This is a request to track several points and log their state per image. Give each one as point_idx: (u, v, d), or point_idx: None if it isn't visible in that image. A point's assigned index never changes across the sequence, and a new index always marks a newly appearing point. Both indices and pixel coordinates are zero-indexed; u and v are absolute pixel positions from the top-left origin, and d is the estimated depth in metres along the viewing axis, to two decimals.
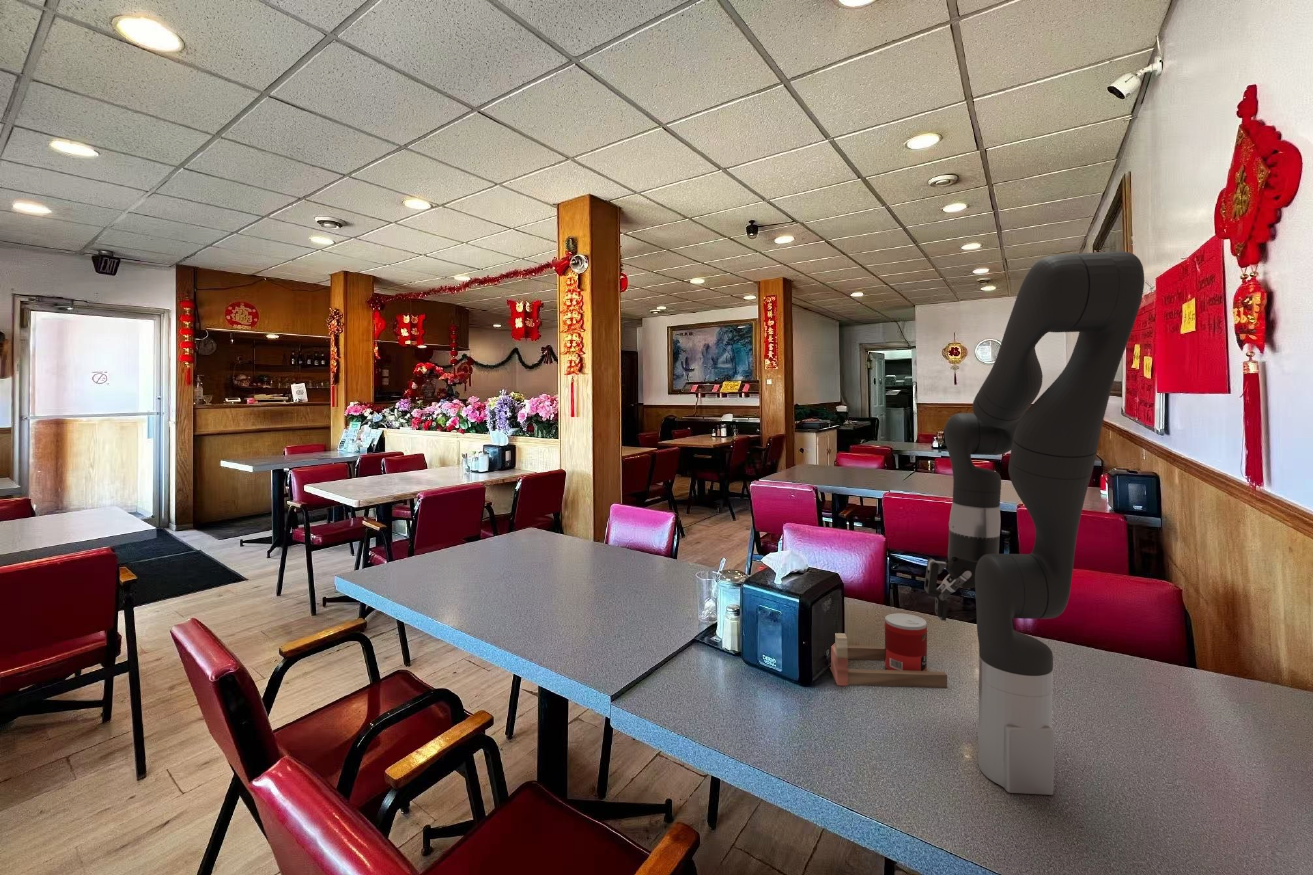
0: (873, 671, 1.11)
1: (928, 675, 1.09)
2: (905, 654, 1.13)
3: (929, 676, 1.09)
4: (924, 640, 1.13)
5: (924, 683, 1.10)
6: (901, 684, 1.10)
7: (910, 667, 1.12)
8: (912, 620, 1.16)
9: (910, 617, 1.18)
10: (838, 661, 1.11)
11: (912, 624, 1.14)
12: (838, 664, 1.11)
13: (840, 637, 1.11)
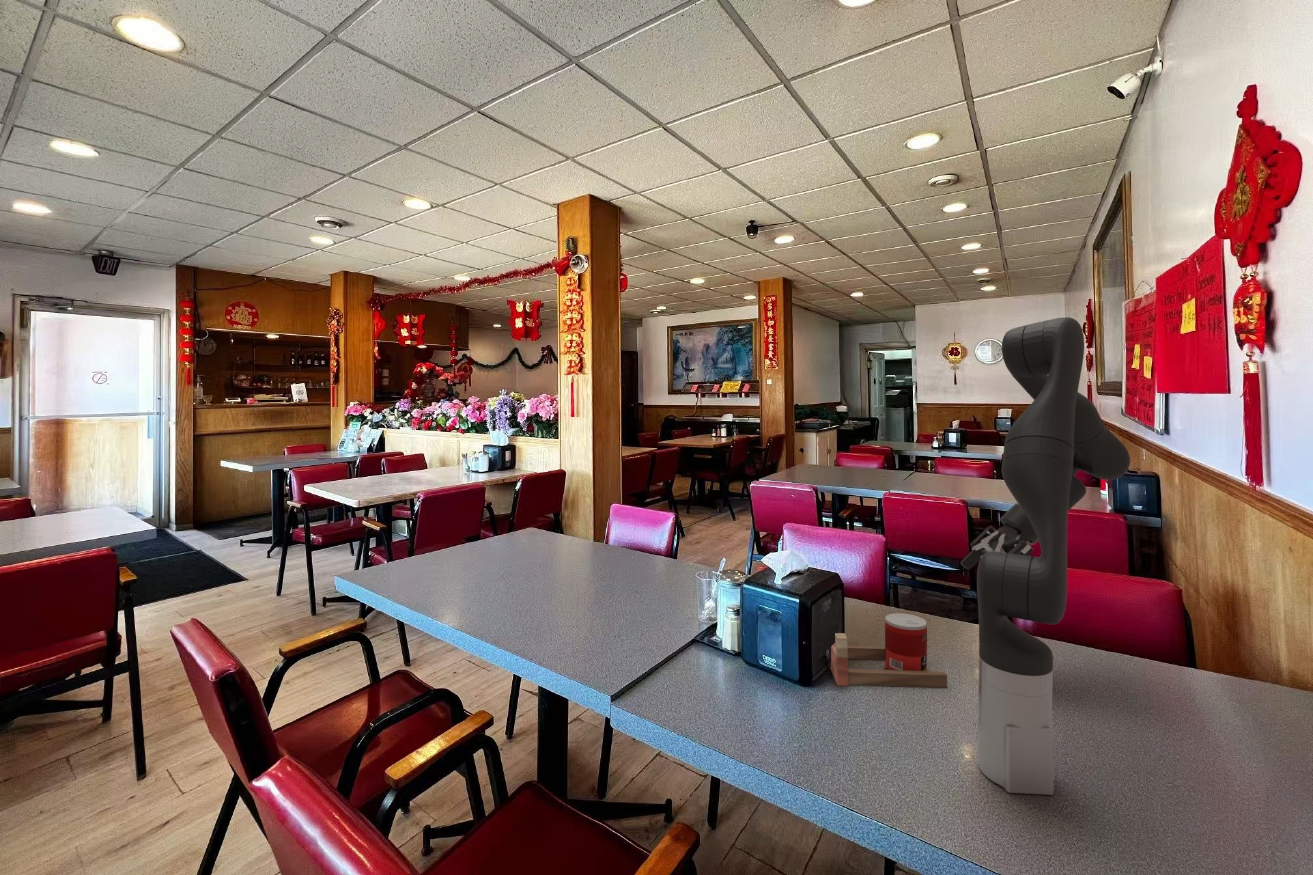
0: (873, 671, 1.11)
1: (928, 675, 1.09)
2: (905, 654, 1.13)
3: (929, 676, 1.09)
4: (924, 640, 1.13)
5: (924, 683, 1.10)
6: (901, 684, 1.10)
7: (910, 667, 1.12)
8: (912, 620, 1.16)
9: (910, 617, 1.18)
10: (838, 661, 1.11)
11: (912, 624, 1.14)
12: (838, 664, 1.11)
13: (840, 637, 1.11)
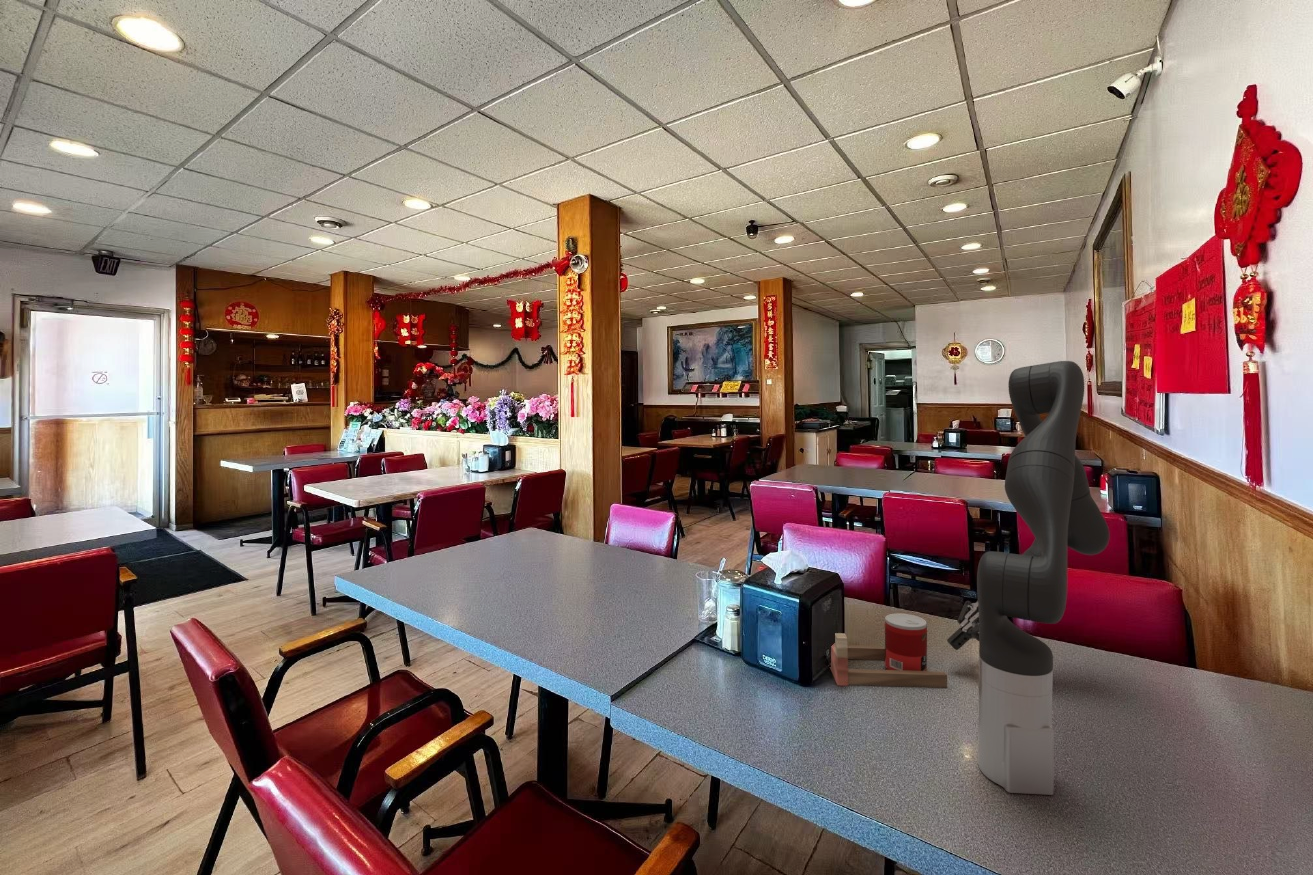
0: (873, 671, 1.11)
1: (928, 675, 1.09)
2: (905, 654, 1.13)
3: (929, 676, 1.09)
4: (924, 640, 1.13)
5: (924, 683, 1.10)
6: (901, 684, 1.10)
7: (910, 667, 1.12)
8: (912, 620, 1.16)
9: (910, 617, 1.18)
10: (838, 661, 1.11)
11: (912, 624, 1.14)
12: (838, 664, 1.11)
13: (840, 637, 1.11)
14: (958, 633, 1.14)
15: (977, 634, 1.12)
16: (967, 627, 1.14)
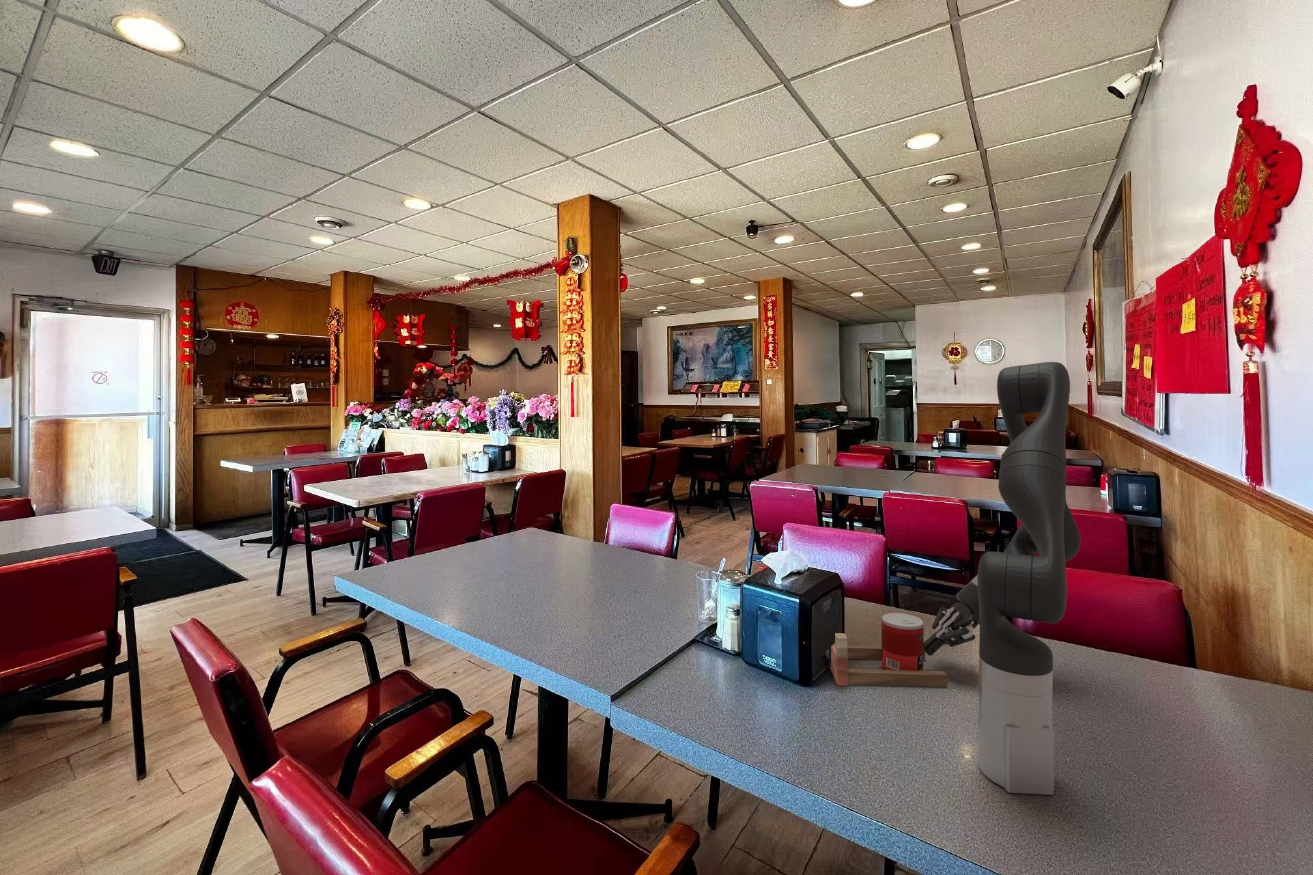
0: (873, 671, 1.11)
1: (928, 675, 1.09)
2: (902, 653, 1.13)
3: (929, 676, 1.09)
4: (921, 639, 1.13)
5: (924, 683, 1.10)
6: (901, 684, 1.10)
7: (906, 667, 1.13)
8: (909, 620, 1.16)
9: (907, 617, 1.18)
10: (838, 661, 1.11)
11: (909, 624, 1.14)
12: (838, 664, 1.11)
13: (840, 637, 1.11)
14: (931, 639, 1.15)
15: (950, 640, 1.12)
16: (940, 633, 1.14)
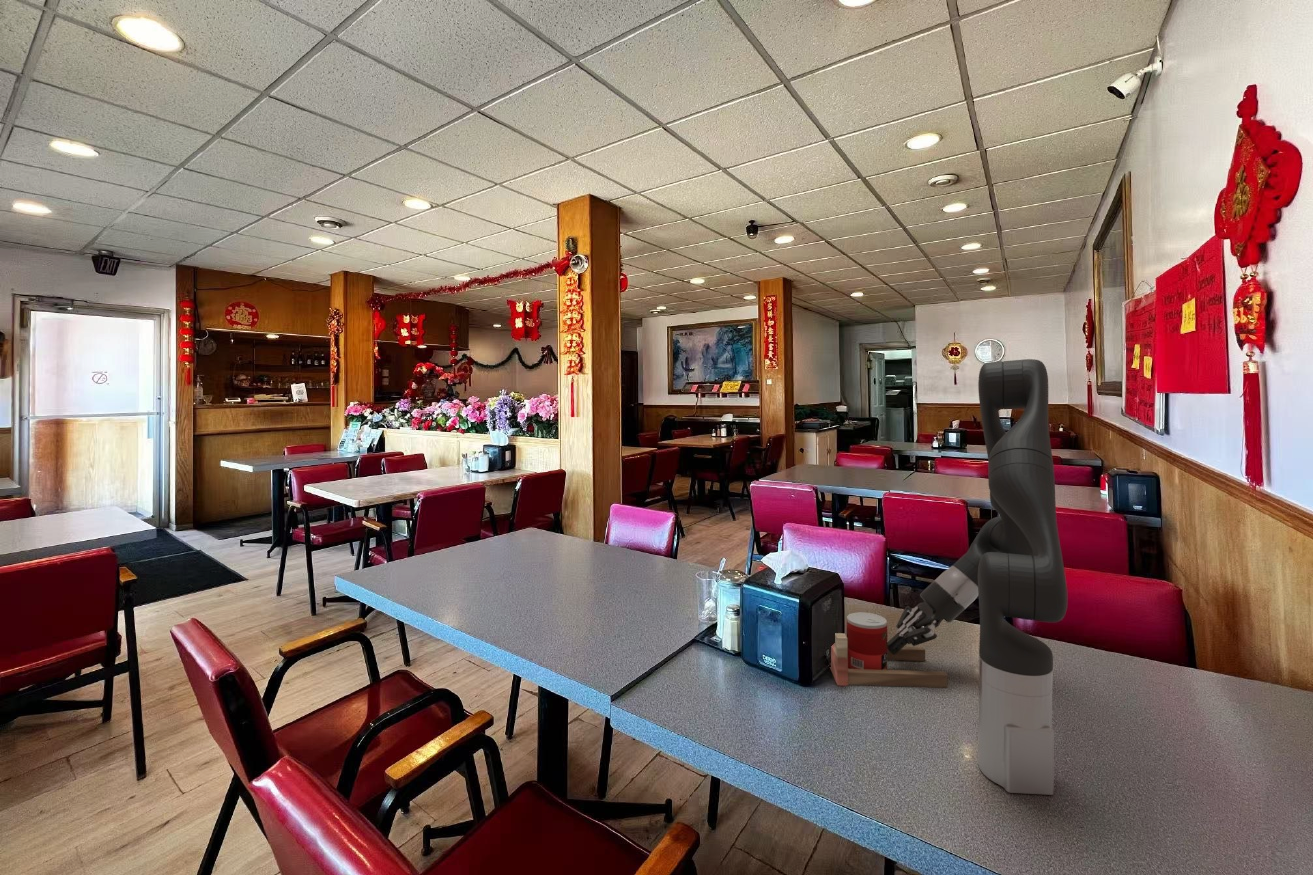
0: (873, 671, 1.11)
1: (928, 675, 1.09)
2: (866, 653, 1.13)
3: (929, 676, 1.09)
4: (884, 638, 1.14)
5: (924, 683, 1.10)
6: (901, 684, 1.10)
7: (870, 666, 1.13)
8: (873, 619, 1.17)
9: (871, 616, 1.19)
10: (838, 661, 1.11)
11: (873, 623, 1.15)
12: (838, 664, 1.11)
13: (840, 637, 1.11)
14: (895, 638, 1.16)
15: (912, 639, 1.13)
16: (904, 632, 1.15)
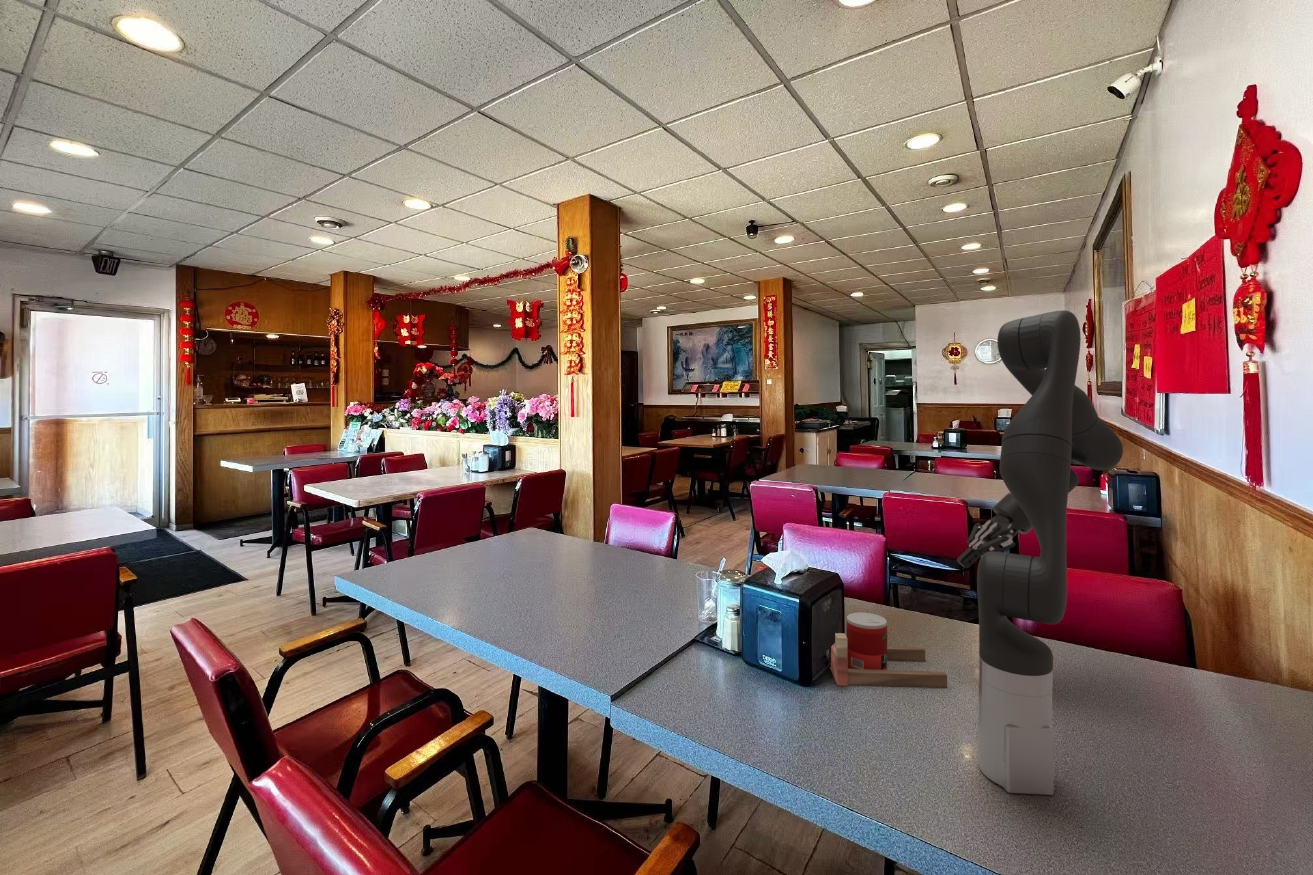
0: (873, 671, 1.11)
1: (928, 675, 1.09)
2: (866, 653, 1.13)
3: (929, 676, 1.09)
4: (884, 638, 1.14)
5: (924, 683, 1.10)
6: (901, 684, 1.10)
7: (870, 666, 1.13)
8: (873, 619, 1.17)
9: (871, 616, 1.19)
10: (838, 661, 1.11)
11: (873, 623, 1.15)
12: (838, 664, 1.11)
13: (840, 637, 1.11)
14: (968, 551, 1.13)
15: (988, 550, 1.10)
16: (977, 544, 1.12)
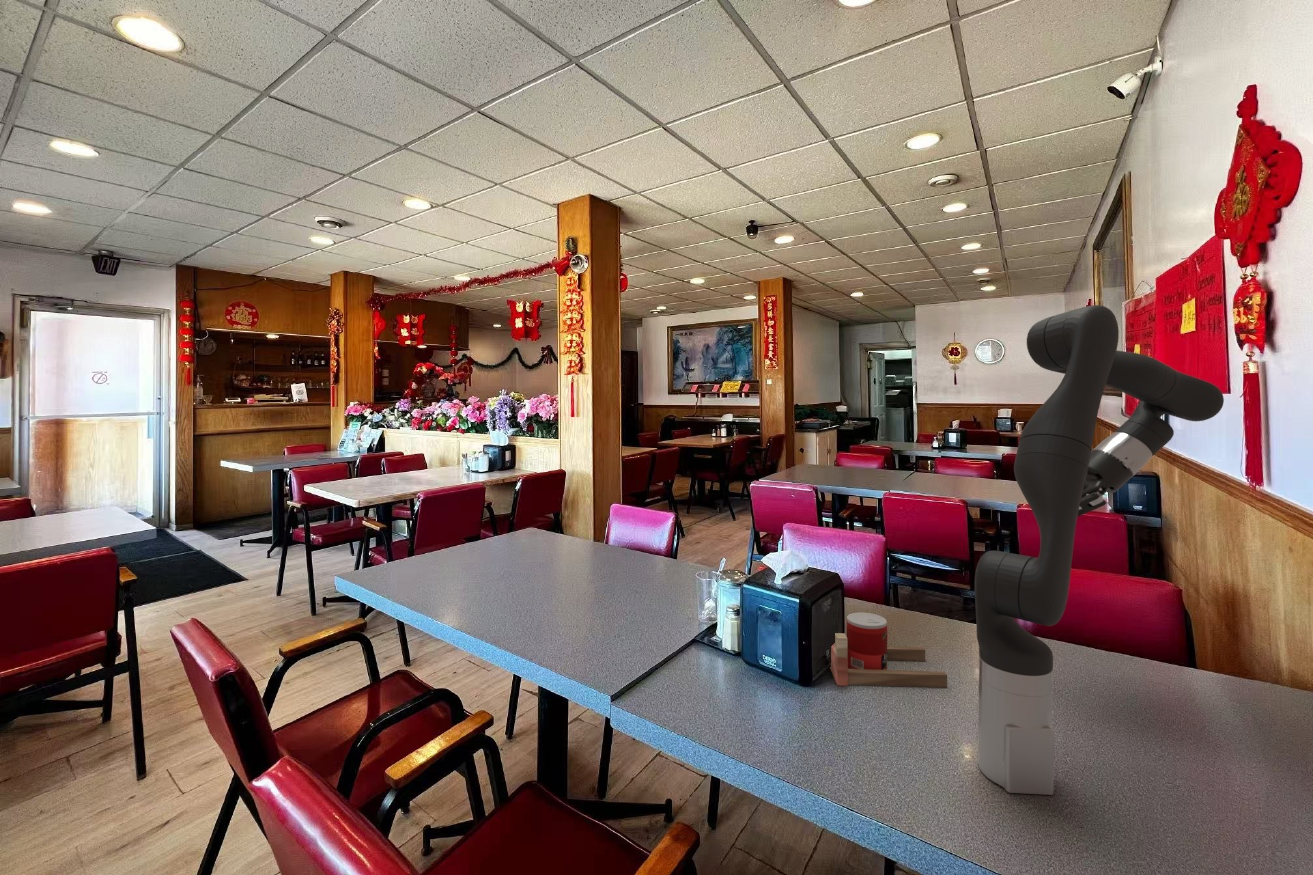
0: (873, 671, 1.11)
1: (928, 675, 1.09)
2: (866, 653, 1.13)
3: (929, 676, 1.09)
4: (884, 638, 1.14)
5: (924, 683, 1.10)
6: (901, 684, 1.10)
7: (870, 666, 1.13)
8: (873, 619, 1.17)
9: (871, 616, 1.19)
10: (838, 661, 1.11)
11: (873, 623, 1.15)
12: (838, 664, 1.11)
13: (840, 637, 1.11)
14: None
15: None
16: None
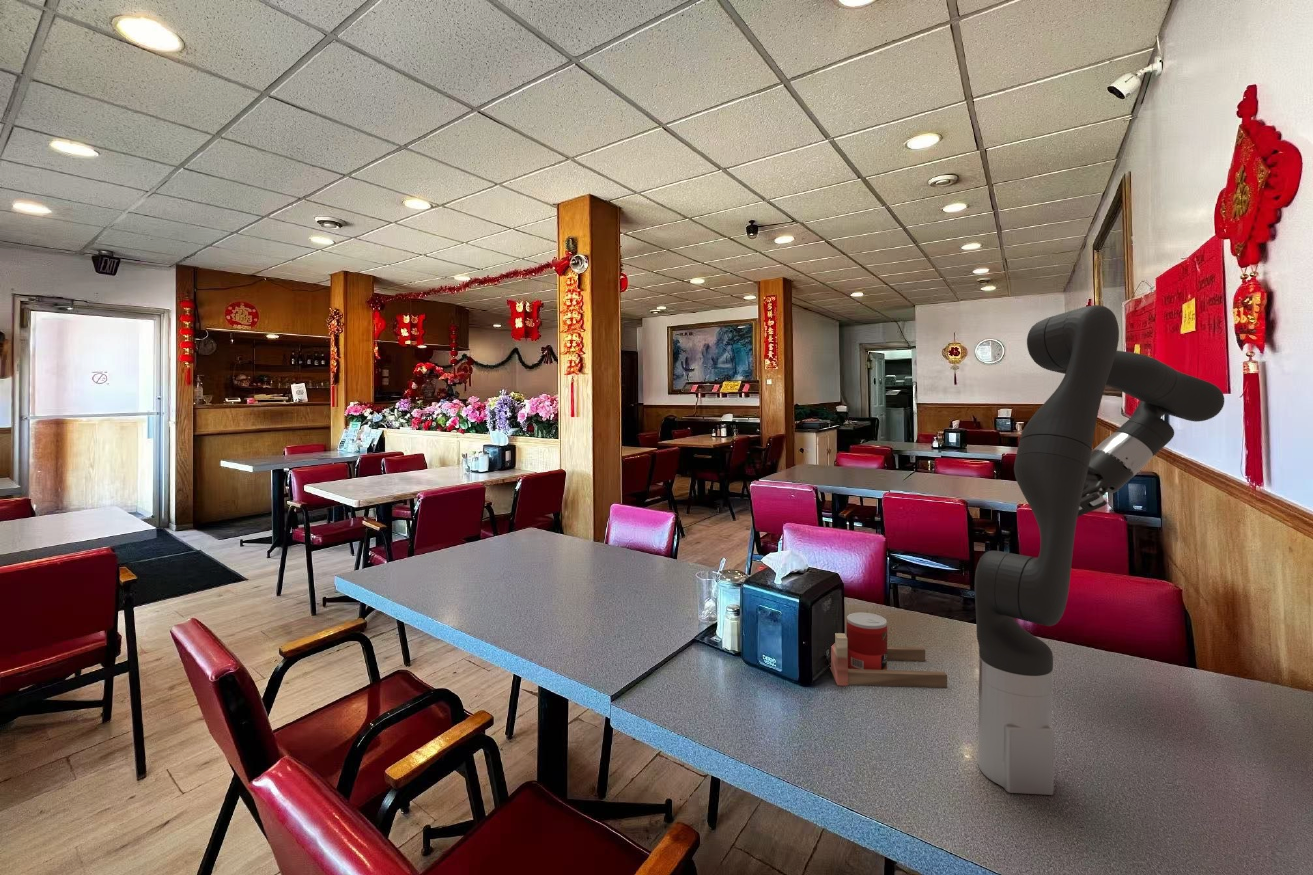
0: (873, 671, 1.11)
1: (928, 675, 1.09)
2: (866, 653, 1.13)
3: (929, 676, 1.09)
4: (884, 638, 1.14)
5: (924, 683, 1.10)
6: (901, 684, 1.10)
7: (870, 666, 1.13)
8: (873, 619, 1.17)
9: (871, 616, 1.19)
10: (838, 661, 1.11)
11: (873, 623, 1.15)
12: (838, 664, 1.11)
13: (840, 637, 1.11)
14: None
15: None
16: None
